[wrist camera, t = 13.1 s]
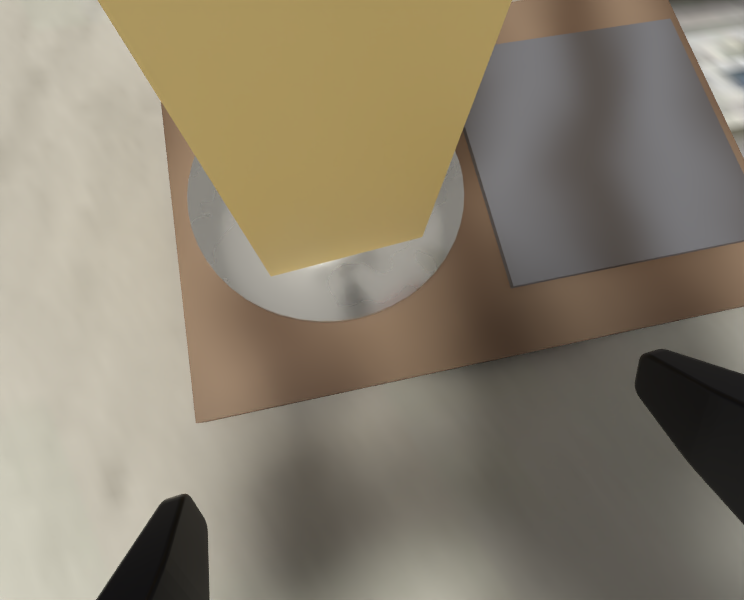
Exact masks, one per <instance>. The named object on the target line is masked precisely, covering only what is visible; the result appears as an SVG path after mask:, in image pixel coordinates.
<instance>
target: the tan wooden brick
mask: <svg viewBox="0 0 744 600" xmlns="http://www.w3.org/2000/svg"><path fill="white" fill-rule="evenodd" d="M511 1H512V0H98V2H99V3H100V5H101V6H102V8H103V10H104V11H105V13H106V14H107V16H108V17H109V19H110V21H111V22H112V24H113V25H114V27H115V29H116V30H117V32H118V33H119V35H120V37H121V38H122V40H123V41H124V43H125V45H126V46H127V48H128V49H129V51H130V53H131V54H132V56H133V57H134V59H135V61H136V62H137V64H138V65H139V67H140V69H141V70H142V72H143V73H144V75H145V77H146V78H147V80H148V81H149V83H150V85H151V86H152V88H153V89H154V91H155V93H156V94H157V96H158V97H159V99H160V100H161V102H162V104H163V105H164V107H165V108H166V110H167V112H168V113H169V115H170V116H171V118H172V120H173V121H174V123H175V124H176V126H177V128H178V129H179V131H180V132H181V134H182V136H183V137H184V139H185V140H186V142H187V144H188V145H189V147H190V148H191V150H192V152H193V153H194V155H195V156H196V158H197V160H198V161H199V163H200V164H201V166H202V168H203V169H204V171H205V172H206V174H207V175H208V177H209V179H210V180H211V182H212V183H213V185H214V187H215V188H216V190H217V191H218V193H219V195H220V196H221V198H222V199H223V201H224V203H225V204H226V206H227V207H228V209H229V211H230V212H231V214H232V215H233V217H234V219H235V220H236V222H237V223H238V225H239V227H240V228H241V230H242V231H243V233H244V235H245V236H246V238H247V239H248V241H249V243H250V244H251V246H252V247H253V249H254V250H255V252H256V254H257V255H258V257H259V258H260V260H261V262H262V263H263V265H264V266H265V268H266V270H267V271H268V273H269V274H270V276H275V275H279V274H283V273H287V272H291V271H294V270H298V269H302V268H306V267H310V266H313V265H317V264H321V263H325V262H329V261H333V260H336V259H340V258H344V257H348V256H352V255H356V254H359V253H363V252H367V251H371V250H375V249H379V248H382V247H386V246H390V245H394V244H398V243H402V242H405V241H409V240H413V239H417V238H421V237H422V236H423V234H424V231H425V228H426V226H427V223H428V220H429V218H430V215H431V213H432V210H433V207H434V205H435V202H436V199H437V197H438V194H439V191H440V189H441V186H442V183H443V181H444V178H445V176H446V173H447V170H448V168H449V165H450V162H451V160H452V157H453V154H454V152H455V149H456V146H457V144H458V141H459V139H460V136H461V133H462V131H463V128H464V125H465V123H466V120H467V117H468V115H469V112H470V110H471V107H472V104H473V102H474V99H475V96H476V94H477V91H478V88H479V86H480V83H481V80H482V78H483V75H484V73H485V70H486V67H487V65H488V62H489V59H490V57H491V54H492V51H493V49H494V46H495V43H496V41H497V38H498V36H499V33H500V30H501V28H502V25H503V22H504V20H505V17H506V14H507V12H508V9H509V6H510V4H511Z"/></svg>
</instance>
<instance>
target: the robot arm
mask: <svg viewBox="0 0 744 600" xmlns="http://www.w3.org/2000/svg"><path fill="white" fill-rule="evenodd" d="M635 389H636V392H637V394H638V396H639V397H640V399H641V400H642V401H643V403H644V404H645V406H646V407H647V408H648V410H649V411H650V412H651V414H652V415H653V416H654V418H655V419H656V420H657V422H658V423H659V424H660V426H661V427H662V428H663V430H664V431H665V432H666V434H667V435H668V436H669V438H670V439H671V440H672V442H673V443H674V444H675V446H676V447H677V449H678V450H679V451H680V452H681V454H682V455H683V456H684V458H685V459H686V460H687V461H688V463H689V464H690V465H691V466H692V467H693V468H694V470H695V471H696V472H697V473H698V474H699V475H700V476H701V477H702V479H703V480H704V481H705V482H706V483H707V484H708V485H709V486H710V488H711V489H712V490H713V491H714V492H715V493H716V494H717V495H718V496H719V498H720V499H721V500H722V501H723V502H724V503H725V504H726V505H727V506H728V508H729V509H730V510H731V511H732V512H733V513H734V514H735V515H736V517H737V518H738V519H739V520H740V521H741V522H742V523H743V524H744V374H741V373H738V372H735V371H731V370H728V369H725V368H722V367H719V366H716V365H713V364H710V363H706V362H703V361H700V360H697V359H694V358H691V357H688V356H685V355H681V354H678V353H675V352H672V351H669V350H665V349H658V350H655V351H651V352H648V353H645V354H643V355H642V356H641V357H640V359H639V364H638V369H637V374H636V379H635ZM96 600H210V599H209V561H208V529H207V524H206V521H205V519H204V517H203V515H202V514H201V512H200V511H199V509H198V507H197V506H196V504H195V503H194V501H193V500H192V498H191V497H190V496H189V495H188V494H181V495H178V496H175V497H171V498H168V499H166V500H164V501H163V502H162V503H161V504H160V505H159V506H158V508H157V509H156V511H155V512H154V514H153V515H152V517H151V518H150V520H149V521H148V523H147V524H146V526H145V527H144V529H143V530H142V532H141V533H140V535H139V536H138V538H137V539H136V541H135V542H134V544H133V545H132V547H131V548H130V550H129V551H128V553H127V554H126V556H125V557H124V559H123V560H122V562H121V563H120V565H119V566H118V568H117V569H116V571H115V572H114V574H113V575H112V577H111V578H110V580H109V581H108V583H107V584H106V586H105V587H104V589H103V590H102V592H101V593H100V595H99V596H98V598H97V599H96Z"/></svg>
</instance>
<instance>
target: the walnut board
mask: <svg viewBox="0 0 744 600" xmlns="http://www.w3.org/2000/svg"><path fill="white" fill-rule="evenodd" d="M161 106H162V115H163V125H164V134H165V143H166V152H167V161H168V171H169V180H170V189H171V198H172V207H173V217H174V226H175V235H176V244H177V253H178V262H179V272H180V281H181V290H182V299H183V308H184V318H185V327H186V336H187V345H188V354H189V364H190V373H191V382H192V391H193V400H194V410H195V419H196V423H203V422H208V421H213V420H217V419H222V418H227V417H231V416H236V415H241V414H245V413H250V412H255V411H259V410H264V409H269V408H273V407H278V406H283V405H287V404H292V403H297V402H301V401H306V400H311V399H315V398H320V397H325V396H329V395H334V394H338V393H343V392H348V391H352V390H357V389H362V388H366V387H371V386H376V385H380V384H385V383H390V382H394V381H399V380H404V379H408V378H413V377H418V376H422V375H427V374H432V373H436V372H441V371H446V370H450V369H455V368H459V367H464V366H469V365H473V364H478V363H483V362H487V361H492V360H497V359H501V358H506V357H511V356H515V355H520V354H525V353H529V352H534V351H539V350H543V349H548V348H553V347H557V346H562V345H567V344H571V343H576V342H580V341H585V340H590V339H594V338H599V337H604V336H608V335H613V334H618V333H622V332H627V331H632V330H636V329H641V328H646V327H650V326H655V325H660V324H664V323H669V322H674V321H678V320H683V319H688V318H692V317H697V316H701V315H706V314H711V313H715V312H720V311H725V310H729V309H734V308H739V307H743V306H744V158H743V156H742V154H741V152H740V150H739V148H738V146H737V144H736V141H735V139H734V137H733V135H732V133H731V131H730V129H729V127H728V125H727V123H726V120H725V118H724V116H723V114H722V112H721V110H720V108H719V106H718V104H717V102H716V99H715V97H714V95H713V93H712V91H711V89H710V87H709V85H708V83H707V81H706V78H705V76H704V74H703V72H702V70H701V68H700V66H699V64H698V62H697V59H696V57H695V55H694V53H693V51H692V49H691V47H690V45H689V43H688V41H687V38H686V36H685V34H684V32H683V30H682V28H681V26H680V24H679V22H678V20H677V17H676V15H675V13H674V11H673V9H672V7H671V5H670V3H669V1H668V0H522V1H515V2H511V4H510V6H509V9H508V12H507V14H506V17H505V20H504V22H503V25H502V28H501V30H500V33H499V36H498V38H497V41H496V43H495V46H494V49H493V51H492V54H491V57H490V59H489V62H488V65H487V67H486V70H485V73H484V75H483V78H482V80H481V83H480V86H479V88H478V91H477V94H476V96H475V99H474V102H473V104H472V107H471V110H470V112H469V115H468V117H467V120H466V123H465V125H464V128H463V131H462V133H461V136H460V139H459V141H458V144H457V146H456V149H455V152H456V155H457V157H458V160H459V163H460V167H461V172H462V176H463V185H464V208H463V214H462V219H461V224H460V227H459V230H458V233H457V236H456V239H455V241H454V243H453V245H452V247H451V249H450V251H449V253H448V255H447V257H446V258H445V260H444V261H443V263H442V264H441V265H440V267H439V268H438V270H437V271H436V272H435V274H434V275H433V276H432V277H431V278H430V279H429V280H428V281H427V282H426V283H425V284H424V285H423V286H422V287H421V288H419V289H418V290H417V291H416V292H414V293H413V294H412V295H411V296H409V297H408V298H406V299H405V300H403V301H401V302H400V303H398V304H396V305H395V306H393V307H391V308H388V309H386V310H384V311H381V312H379V313H377V314H374V315H370V316H367V317H363V318H360V319H356V320H349V321H342V322H321V323H319V322H309V321H300V320H296V319H291V318H287V317H283V316H280V315H277V314H275V313H272V312H269V311H267V310H264V309H262V308H260V307H259V306H257V305H255V304H253V303H251V302H249V301H247V300H246V299H245V298H243V297H242V296H241V295H239V294H238V293H237V292H235V291H234V290H232V289H231V288H230V287H229V286H228V285H227V284H226V283H225V282H224V281H223V280H222V279H221V278H220V277H219V276H218V275H217V274H216V272H215V271H214V270H213V268H212V267H211V266H210V264H209V263H208V262H207V261H206V259H205V257H204V255H203V253H202V252H201V250H200V248H199V246H198V244H197V242H196V239H195V236H194V234H193V231H192V228H191V223H190V219H189V214H188V202H187V191H188V179H189V175H190V171H191V166H192V163H193V160H194V157H195V155H194V153H193V152H192V150H191V148H190V147H189V145H188V144H187V142H186V140H185V139H184V137H183V136H182V134H181V132H180V131H179V129H178V128H177V126H176V124H175V123H174V121H173V120H172V118H171V116H170V115H169V113H168V112H167V110H166V108H165V107H164V105H163V104H162V102H161Z"/></svg>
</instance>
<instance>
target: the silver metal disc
mask: <svg viewBox="0 0 744 600" xmlns="http://www.w3.org/2000/svg"><path fill="white" fill-rule="evenodd" d="M187 202H188V214H189V219H190V223H191V228H192V231H193V234H194V236H195V239H196V242H197V244H198V246H199V248H200V250H201V252H202V253H203V255H204V257H205V259H206V261H207V262H208V263H209V264H210V266H211V267H212V268H213V270H214V271H215V272H216V274H217V275H218V276H219V277H220V278H221V279H222V280H223V281H224V282H225V283H226V284H227V285H228V286H229V287H230V288H231V289H232V290H234V291H235V292H237V293H238V294H239V295H241V296H242V297H243V298H245V299H246V300H247V301H249V302H251V303H253V304H255V305H257V306H259V307H260V308H262V309H264V310H267V311H269V312H272V313H275V314H277V315H280V316H283V317H287V318H291V319H296V320H300V321H309V322H319V323H321V322H342V321H349V320H356V319H360V318H363V317H367V316H370V315H374V314H377V313H379V312H381V311H384V310H386V309H388V308H391V307H393V306H395V305H396V304H398V303H400V302H401V301H403V300H405V299H406V298H408V297H409V296H411V295H412V294H413V293H414V292H416V291H417V290H418V289H419V288H421V287H422V286H423V285H424V284H425V283H426V282H427V281H428V280H429V279H430V278H431V277H432V276H433V275H434V274H435V272H436V271H437V270H438V268H439V267H440V265H441V264H442V263H443V261H444V260H445V258H446V257H447V255H448V253H449V251H450V249H451V247H452V245H453V243H454V241H455V239H456V236H457V233H458V230H459V227H460V224H461V219H462V214H463V208H464V185H463V176H462V172H461V167H460V163H459V160H458V157H457V155H456V152H454V154H453V157H452V160H451V162H450V165H449V168H448V170H447V173H446V176H445V178H444V181H443V183H442V186H441V189H440V191H439V194H438V197H437V199H436V202H435V205H434V207H433V210H432V213H431V215H430V218H429V220H428V223H427V226H426V228H425V231H424V234H423V236H422V237H421V238H417V239H413V240H409V241H405V242H402V243H398V244H394V245H390V246H386V247H382V248H379V249H375V250H371V251H367V252H363V253H359V254H356V255H352V256H348V257H344V258H340V259H336V260H333V261H329V262H325V263H321V264H317V265H313V266H310V267H306V268H302V269H298V270H294V271H291V272H287V273H283V274H279V275H275V276H270V274H269V273H268V271H267V270H266V268H265V266H264V265H263V263H262V262H261V260H260V258H259V257H258V255H257V254H256V252H255V250H254V249H253V247H252V246H251V244H250V243H249V241H248V239H247V238H246V236H245V235H244V233H243V231H242V230H241V228H240V227H239V225H238V223H237V222H236V220H235V219H234V217H233V215H232V214H231V212H230V211H229V209H228V207H227V206H226V204H225V203H224V201H223V199H222V198H221V196H220V195H219V193H218V191H217V190H216V188H215V187H214V185H213V183H212V182H211V180H210V179H209V177H208V175H207V174H206V172H205V171H204V169H203V168H202V166H201V164H200V163H199V161H198V160H197V158H196V156H195V157H194V160H193V163H192V166H191V171H190V175H189V179H188V191H187Z"/></svg>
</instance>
